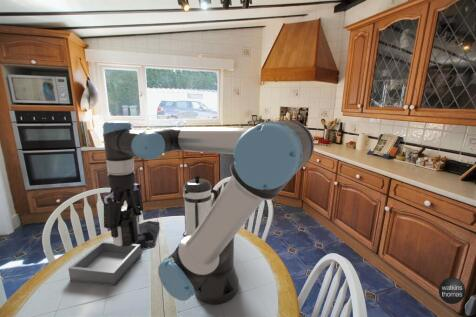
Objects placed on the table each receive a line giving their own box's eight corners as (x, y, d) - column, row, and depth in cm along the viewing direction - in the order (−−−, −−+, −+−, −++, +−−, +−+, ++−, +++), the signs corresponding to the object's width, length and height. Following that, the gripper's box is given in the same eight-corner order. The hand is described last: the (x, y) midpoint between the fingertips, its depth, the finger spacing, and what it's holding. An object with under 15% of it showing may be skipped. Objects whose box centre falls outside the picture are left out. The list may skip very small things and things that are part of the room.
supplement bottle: (143, 237, 80) (140, 205, 77) (128, 249, 74) (125, 214, 71) (126, 234, 82) (123, 202, 79) (110, 245, 75) (107, 210, 73)
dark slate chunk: (164, 225, 123) (164, 216, 122) (152, 250, 101) (152, 240, 100) (134, 226, 121) (133, 217, 120) (116, 251, 100) (115, 241, 99)
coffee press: (214, 244, 105) (214, 180, 98) (179, 244, 105) (176, 180, 99) (218, 225, 122) (218, 169, 115) (188, 225, 122) (185, 169, 115)
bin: (141, 255, 97) (140, 244, 96) (115, 285, 80) (113, 273, 79) (103, 251, 99) (102, 241, 98) (70, 280, 83) (68, 268, 81)
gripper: (134, 163, 83) (138, 222, 88) (82, 179, 64) (91, 253, 69) (152, 165, 80) (155, 226, 85) (103, 183, 62) (111, 259, 67)
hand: (127, 238), depth 77 cm, fingers closed on supplement bottle, 7 cm apart
